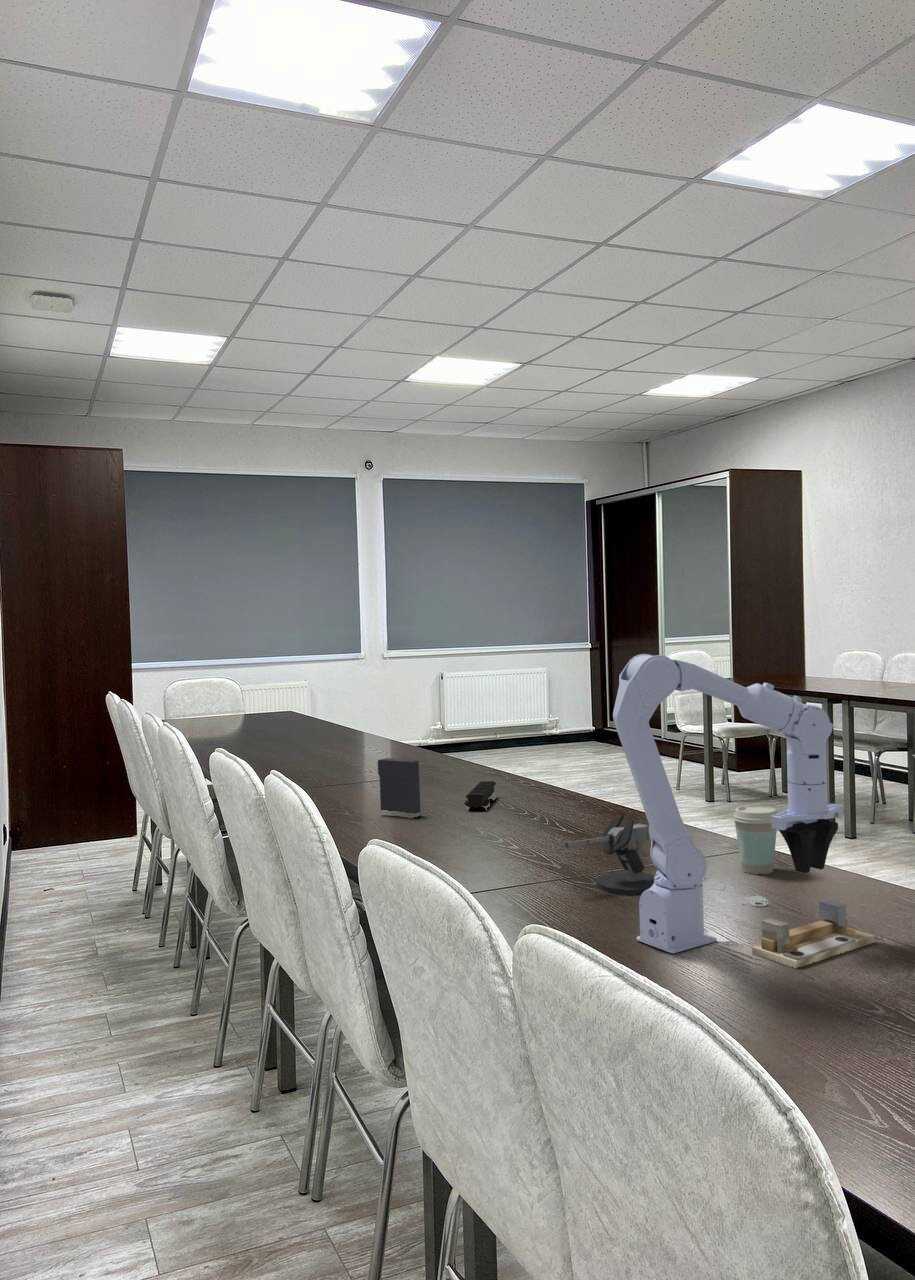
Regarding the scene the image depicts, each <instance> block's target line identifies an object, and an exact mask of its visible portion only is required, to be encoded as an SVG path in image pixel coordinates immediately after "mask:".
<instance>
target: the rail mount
mask: <svg viewBox="0 0 915 1280" xmlns="http://www.w3.org/2000/svg"><path fill="white" fill-rule="evenodd" d="M496 785H497V783H496V782H495V781H494V780H493V781H492V780H491V781H487V780H486V781H484V780H483V781H482V780H481V781H479V783H478V784H477V785H476V786H474V787H473V789H471V790H470V791H469V792H468V793H467V794H466V796H465V798H466V799H467V800H465V801H464V803H463V804H465V805H466V806H468V807H482V806H487V805H488V804H489V802H490V801H491V802H492V800H491V799H490V800H488V798H489V797H490V796H491V795H492V793H493V792H495V786H496Z"/></svg>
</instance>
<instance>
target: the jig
mask: <svg viewBox="0 0 915 1280" xmlns="http://www.w3.org/2000/svg"><path fill="white" fill-rule="evenodd" d="M846 927H847V928H848V919H847V918H846ZM761 935H762V936H761V938H760V941H761V943H760V944H756V945H754V946H752V947H751V950H752V951H751V952H752V955H754V956H758V957H760V956H761V958H763V957H764V959H767V960H769V961H772V960H773V961H772V962H775V961H776V963H778V962H779V963H778V964H782V965H785V966H787V967H790V968H792V967H793V969H799V968H802V967H805V966H808V965H810V964H814V963H817V962H820V961H824V960H826V959H829V958H831V956H832V957H835V956H838V955H841V954H844V953H847V952H849V951H853V950H855V949H859V948H862V947H865V946H867V945H871V944H874V943H876V939H875V937H876V936H875V935H874V934H870V933H867V932H864V931H859V930H856V929H855V933H853V934H852V933H849V932H846V931H840V932H838V931H835V923H834V921H831V920H828V919H824V918H823V919H822V920H818V921H815V922H812V923H811V922H810V923H808V924H805V925H802V926H801V925H800V926H798V927H793V928H791V929H790V924H789V923H788V922H784V921H780V920H777V919H775V918H771V917H769V918H766V919H762V920H761ZM846 951H847V952H846ZM840 953H841V954H840ZM837 954H838V955H837ZM834 955H835V956H834ZM828 957H829V958H828ZM813 962H814V963H813ZM798 967H799V968H798Z"/></svg>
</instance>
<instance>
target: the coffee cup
mask: <svg viewBox="0 0 915 1280" xmlns="http://www.w3.org/2000/svg"><path fill="white" fill-rule="evenodd" d="M733 813H734V814H733V816H732V817H733V818H732V820H734V824H735V825H734V826H735V833H736V839H737V846H738V847H737V848H738V854H739V861H740V866H741V871H742V872H743V871H744V872H743V873H745V872H747V873H746V874H749V873H752V874H751V875H757V874H763V875H768V874H769V873H770V874H772V873H773V872H774V865H775V863H774V862H775V855H776V843H777V842H776V840H777V830H778V829H773V828H772V819H771V816H773V815H776V814H778V813H777V810H776V809H775V808H774V807H772V806H771V807H770V806H766V805H764V806H763V805H744V806H738V807H736V808H735V810H734V812H733ZM770 874H769V875H770Z"/></svg>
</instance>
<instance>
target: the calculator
mask: <svg viewBox="0 0 915 1280" xmlns="http://www.w3.org/2000/svg"><path fill="white" fill-rule="evenodd" d="M419 762H420V761H419V760H418V759H409V758H408V759H407V758H393V757H392V758H389V757H385V758H381V759H378V760H377V773H378V776H379V793H380V794H379V798H380V811H381V810H388V811H399V812H406V813H414V814H415V813H418V812H420V813H421V794H420V793H421V789H420V763H419Z"/></svg>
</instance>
